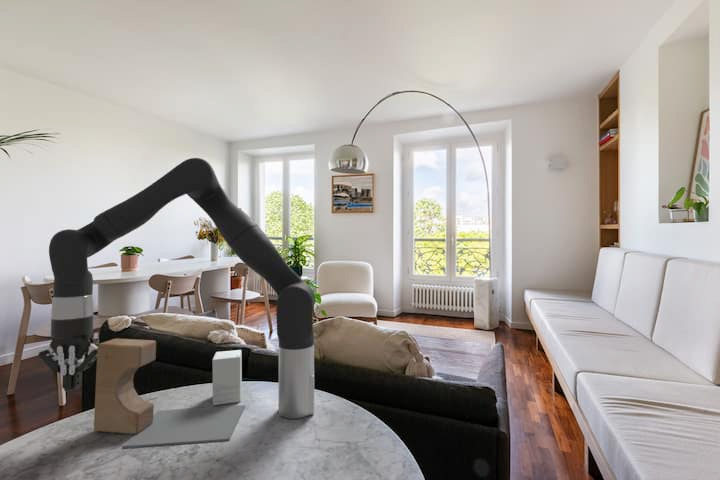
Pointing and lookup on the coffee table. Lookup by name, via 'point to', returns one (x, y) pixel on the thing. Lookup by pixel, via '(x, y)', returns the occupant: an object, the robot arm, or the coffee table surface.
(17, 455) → the coffee table surface
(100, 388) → the decorative block
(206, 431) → the mat
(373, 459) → the coffee table surface
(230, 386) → the supplement box
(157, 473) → the coffee table surface
